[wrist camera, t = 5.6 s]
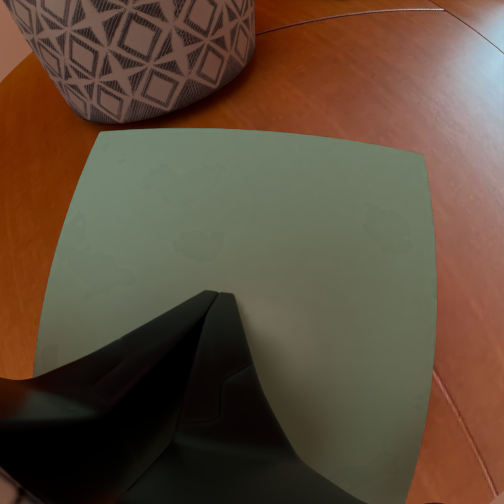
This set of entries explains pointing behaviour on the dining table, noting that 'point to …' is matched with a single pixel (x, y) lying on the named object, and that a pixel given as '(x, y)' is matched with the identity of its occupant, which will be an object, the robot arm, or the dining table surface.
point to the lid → (268, 278)
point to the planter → (137, 51)
